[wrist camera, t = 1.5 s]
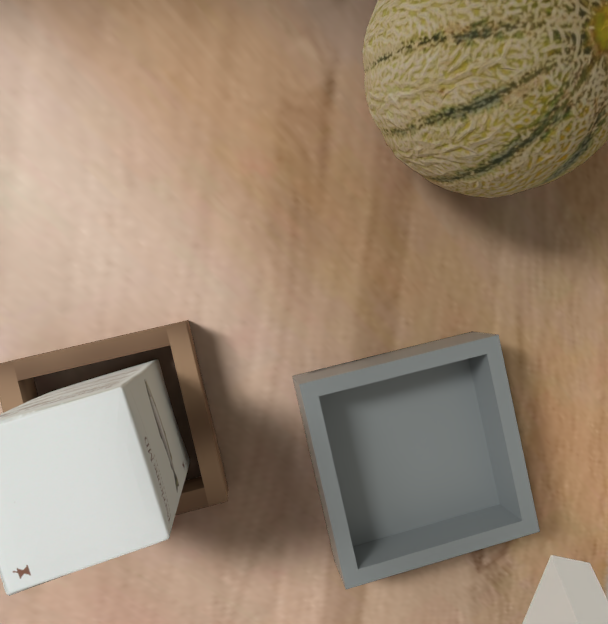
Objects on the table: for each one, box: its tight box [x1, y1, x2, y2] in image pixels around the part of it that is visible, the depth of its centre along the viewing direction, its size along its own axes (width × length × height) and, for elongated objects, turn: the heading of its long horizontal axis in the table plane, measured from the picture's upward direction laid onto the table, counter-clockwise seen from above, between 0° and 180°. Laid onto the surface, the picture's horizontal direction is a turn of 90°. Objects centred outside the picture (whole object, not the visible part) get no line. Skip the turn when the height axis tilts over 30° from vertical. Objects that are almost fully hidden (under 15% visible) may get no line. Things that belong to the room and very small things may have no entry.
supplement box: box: [0, 359, 190, 596], centre depth 30 cm, size 7×7×13 cm
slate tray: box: [292, 332, 540, 589], centre depth 37 cm, size 13×13×4 cm
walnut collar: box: [0, 320, 228, 515], centre depth 35 cm, size 11×11×2 cm
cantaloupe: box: [362, 0, 608, 198], centre depth 31 cm, size 15×15×15 cm
